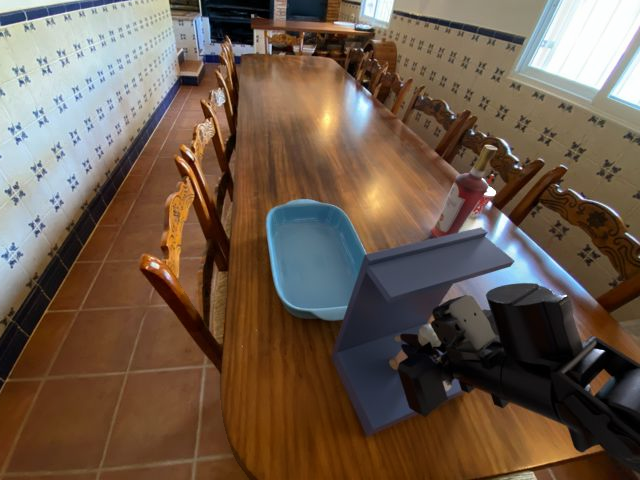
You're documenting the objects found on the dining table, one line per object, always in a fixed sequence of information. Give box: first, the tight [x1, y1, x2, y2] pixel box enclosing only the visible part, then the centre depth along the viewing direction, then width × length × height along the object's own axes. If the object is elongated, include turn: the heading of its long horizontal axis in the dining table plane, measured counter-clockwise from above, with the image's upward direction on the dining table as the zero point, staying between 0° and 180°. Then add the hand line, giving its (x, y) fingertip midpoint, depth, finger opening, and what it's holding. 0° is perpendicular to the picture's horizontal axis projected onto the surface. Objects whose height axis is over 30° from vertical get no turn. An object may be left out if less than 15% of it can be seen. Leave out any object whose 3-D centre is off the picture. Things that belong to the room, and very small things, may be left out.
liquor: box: [430, 144, 498, 238], centre depth 75 cm, size 7×7×28 cm
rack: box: [330, 226, 515, 438], centre depth 45 cm, size 13×20×28 cm, turn 110°
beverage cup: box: [469, 174, 497, 218], centre depth 90 cm, size 6×6×14 cm
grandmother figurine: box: [389, 323, 441, 370], centre depth 47 cm, size 8×4×13 cm, turn 61°
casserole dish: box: [265, 198, 368, 322], centre depth 70 cm, size 37×22×7 cm, turn 9°
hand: (411, 341), depth 48 cm, fingers open, 4 cm apart
